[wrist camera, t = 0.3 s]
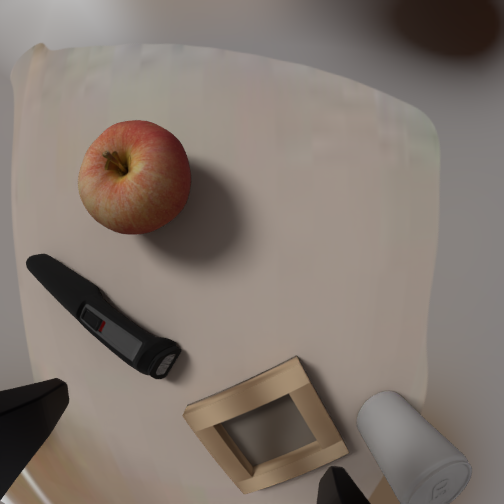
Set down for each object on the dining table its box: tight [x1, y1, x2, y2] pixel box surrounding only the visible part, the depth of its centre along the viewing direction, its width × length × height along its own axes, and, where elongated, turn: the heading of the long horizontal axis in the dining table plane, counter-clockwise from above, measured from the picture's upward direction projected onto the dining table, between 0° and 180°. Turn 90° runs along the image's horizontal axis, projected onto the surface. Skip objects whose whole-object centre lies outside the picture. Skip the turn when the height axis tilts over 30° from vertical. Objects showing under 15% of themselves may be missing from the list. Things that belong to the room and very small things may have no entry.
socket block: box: [183, 356, 349, 494], centre depth 22 cm, size 10×10×2 cm
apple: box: [78, 120, 191, 234], centre depth 19 cm, size 8×8×8 cm
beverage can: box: [357, 391, 472, 504], centre depth 16 cm, size 5×5×12 cm
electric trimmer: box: [26, 254, 181, 379], centre depth 22 cm, size 4×16×3 cm, turn 58°
